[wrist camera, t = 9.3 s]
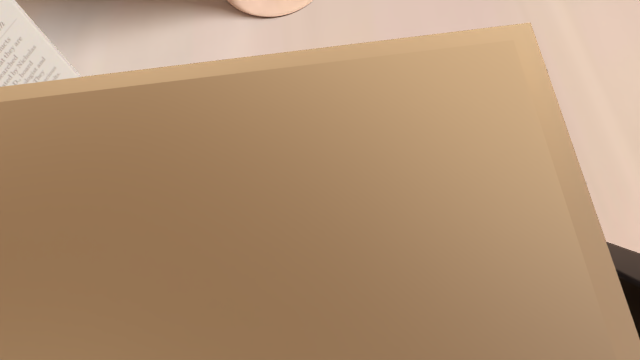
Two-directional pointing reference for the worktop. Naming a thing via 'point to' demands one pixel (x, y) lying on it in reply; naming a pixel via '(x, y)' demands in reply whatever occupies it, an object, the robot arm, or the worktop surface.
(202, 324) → the pillar block
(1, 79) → the skincare box
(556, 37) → the worktop surface
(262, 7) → the beer glass
